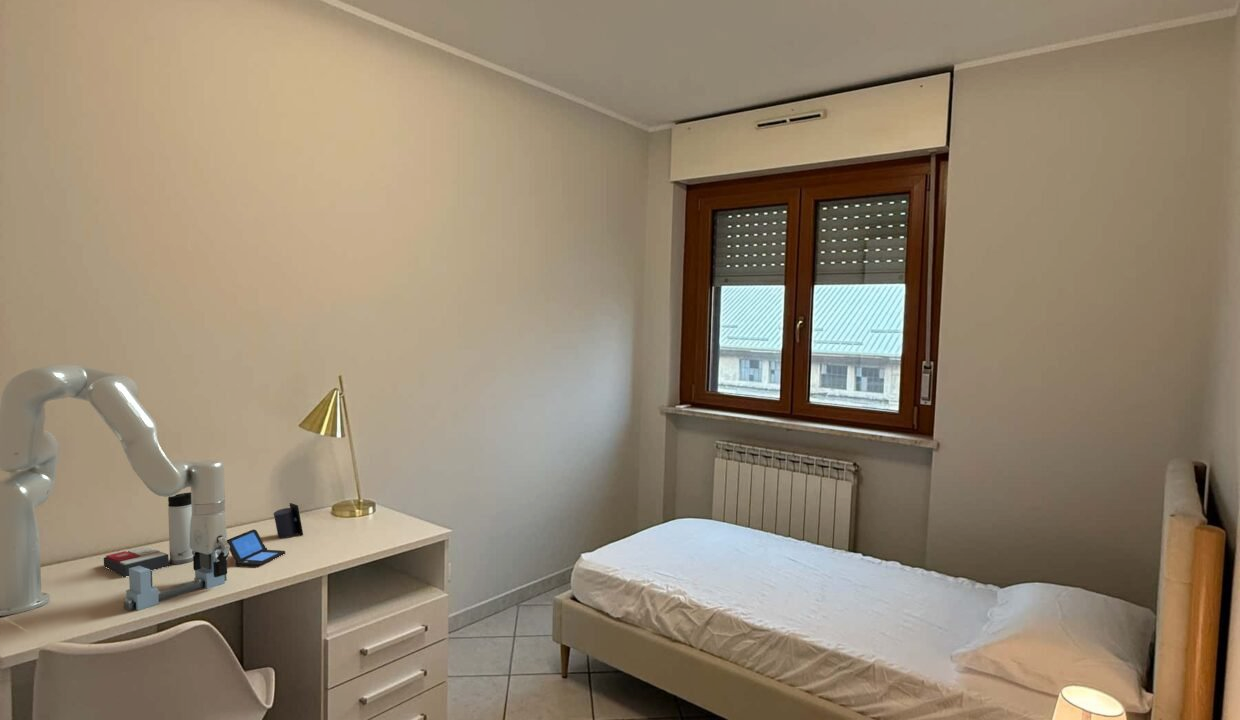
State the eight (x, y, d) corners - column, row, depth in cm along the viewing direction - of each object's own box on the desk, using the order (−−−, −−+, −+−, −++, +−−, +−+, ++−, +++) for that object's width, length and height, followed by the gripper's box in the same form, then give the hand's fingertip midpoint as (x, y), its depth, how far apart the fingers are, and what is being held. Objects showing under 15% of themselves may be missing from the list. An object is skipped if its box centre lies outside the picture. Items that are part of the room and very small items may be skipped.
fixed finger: (158, 604, 165) (157, 567, 164) (137, 610, 161) (136, 573, 160) (147, 599, 167) (146, 563, 167) (126, 605, 164) (125, 569, 163)
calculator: (147, 544, 201) (168, 551, 192) (148, 559, 201) (169, 566, 192) (102, 555, 192) (123, 562, 183) (103, 570, 192) (124, 578, 183)
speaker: (301, 530, 225) (297, 500, 224) (303, 535, 220) (299, 505, 219) (276, 536, 222) (272, 505, 220) (277, 541, 217) (273, 510, 215)
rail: (128, 611, 160) (128, 601, 160) (123, 609, 162) (123, 599, 162) (226, 581, 180) (226, 571, 180) (221, 579, 181) (221, 569, 181)
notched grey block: (195, 584, 177) (194, 550, 177) (213, 579, 181) (212, 546, 181) (207, 588, 174) (206, 554, 174) (224, 583, 178) (223, 549, 178)
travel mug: (184, 565, 193) (181, 496, 192) (164, 563, 194) (162, 494, 193) (201, 557, 199) (199, 490, 198) (182, 556, 200) (180, 489, 199)
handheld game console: (258, 568, 190) (258, 542, 190) (224, 566, 192) (224, 540, 192) (287, 554, 203) (287, 529, 202) (255, 552, 205) (254, 528, 204)
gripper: (176, 506, 178) (177, 570, 179) (211, 515, 169) (213, 583, 170) (205, 500, 185) (207, 562, 185) (241, 509, 176) (243, 573, 176)
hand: (210, 572), depth 178 cm, fingers open, 9 cm apart
